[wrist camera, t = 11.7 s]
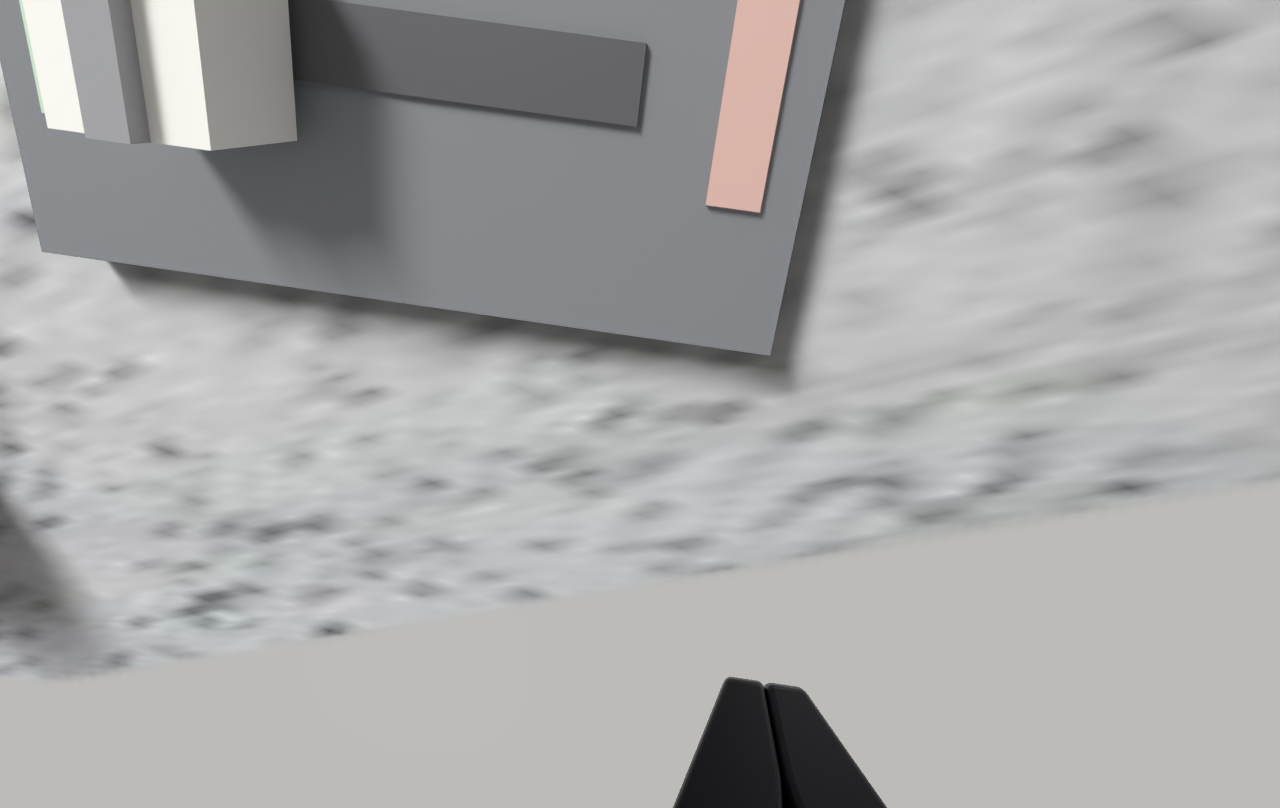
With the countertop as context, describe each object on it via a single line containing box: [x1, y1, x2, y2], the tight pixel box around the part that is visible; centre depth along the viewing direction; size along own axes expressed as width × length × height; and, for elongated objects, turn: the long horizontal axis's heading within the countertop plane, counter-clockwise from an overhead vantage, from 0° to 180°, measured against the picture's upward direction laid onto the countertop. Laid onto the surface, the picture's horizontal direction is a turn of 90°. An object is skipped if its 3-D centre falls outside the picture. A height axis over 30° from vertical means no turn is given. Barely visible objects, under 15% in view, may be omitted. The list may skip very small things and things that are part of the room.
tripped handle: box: [22, 0, 297, 151], centre depth 13 cm, size 3×4×4 cm
